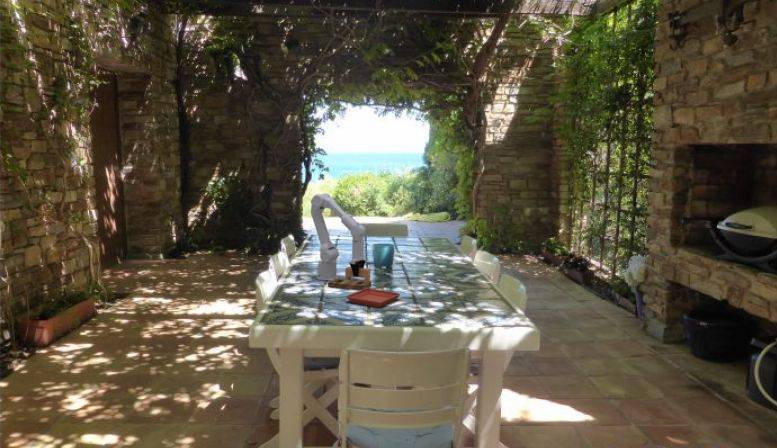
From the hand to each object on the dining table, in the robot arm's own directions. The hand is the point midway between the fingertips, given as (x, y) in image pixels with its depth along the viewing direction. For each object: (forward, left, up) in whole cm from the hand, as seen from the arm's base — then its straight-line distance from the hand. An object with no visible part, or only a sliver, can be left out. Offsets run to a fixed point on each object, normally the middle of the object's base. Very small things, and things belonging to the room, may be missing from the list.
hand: (357, 275), depth 279 cm
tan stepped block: (0, 0, -3) cm, 3 cm away
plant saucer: (+19, -30, -4) cm, 36 cm away
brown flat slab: (0, -11, -3) cm, 12 cm away
